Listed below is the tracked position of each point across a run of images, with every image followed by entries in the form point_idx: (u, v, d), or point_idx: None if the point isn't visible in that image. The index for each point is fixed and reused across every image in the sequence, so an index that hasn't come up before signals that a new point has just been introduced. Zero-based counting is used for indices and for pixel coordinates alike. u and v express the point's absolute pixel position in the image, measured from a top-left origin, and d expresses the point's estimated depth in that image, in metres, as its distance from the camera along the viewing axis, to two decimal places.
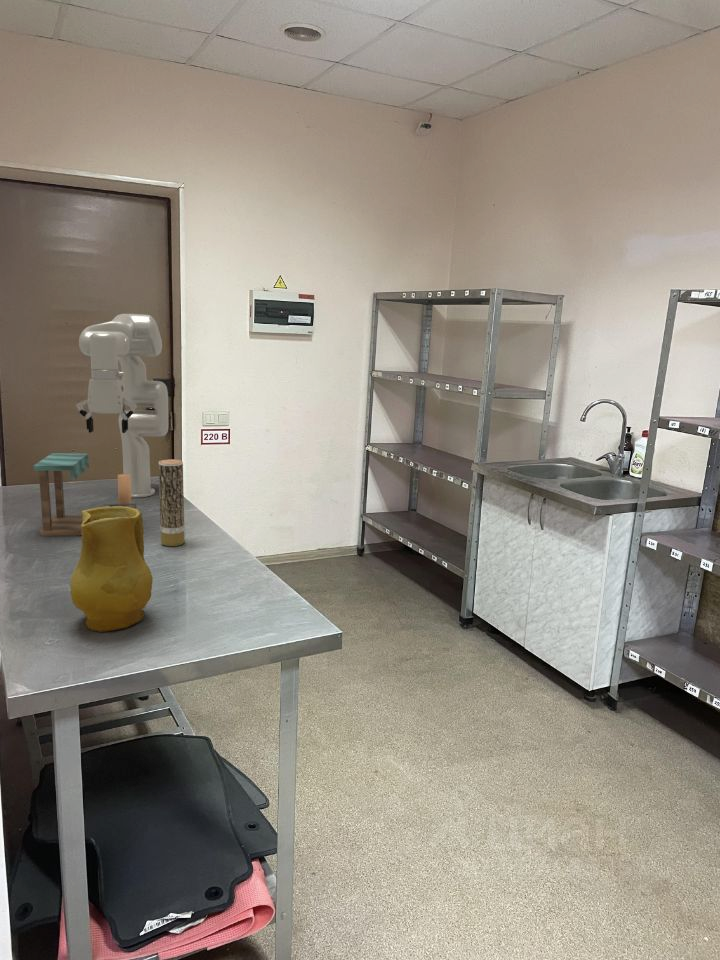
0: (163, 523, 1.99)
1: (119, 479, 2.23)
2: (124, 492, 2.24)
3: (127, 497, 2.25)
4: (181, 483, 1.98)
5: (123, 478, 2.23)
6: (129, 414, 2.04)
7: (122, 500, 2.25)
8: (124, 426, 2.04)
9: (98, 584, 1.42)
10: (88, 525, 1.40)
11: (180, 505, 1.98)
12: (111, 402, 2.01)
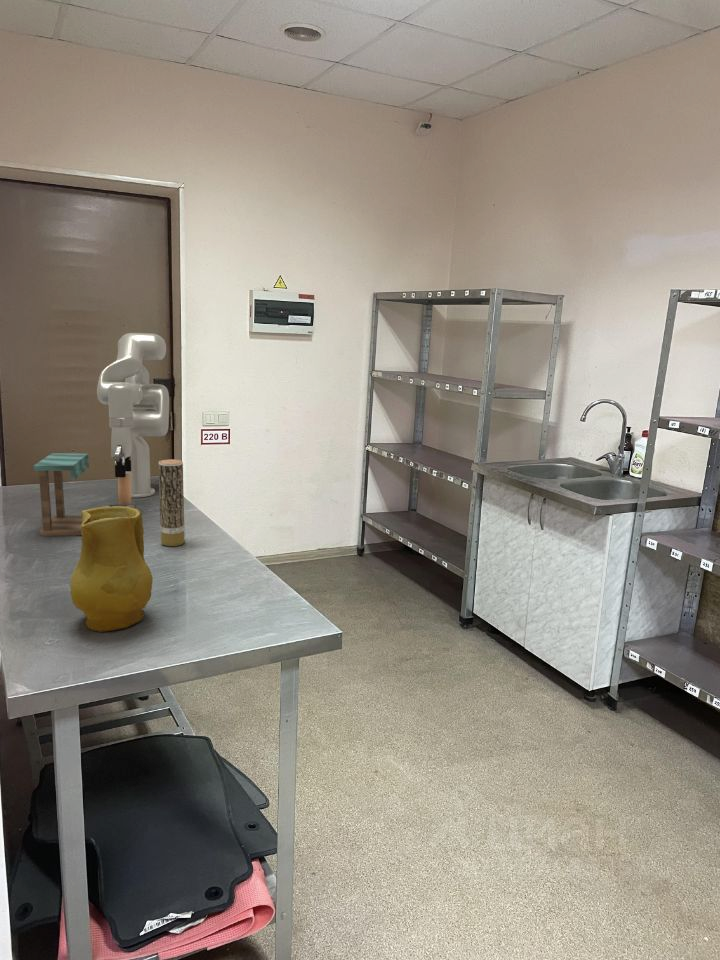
0: (163, 523, 1.99)
1: (119, 479, 2.23)
2: (124, 492, 2.24)
3: (127, 497, 2.25)
4: (181, 483, 1.98)
5: (123, 478, 2.23)
6: None
7: (122, 500, 2.25)
8: None
9: (98, 584, 1.42)
10: (88, 525, 1.40)
11: (180, 505, 1.98)
12: (131, 445, 2.24)
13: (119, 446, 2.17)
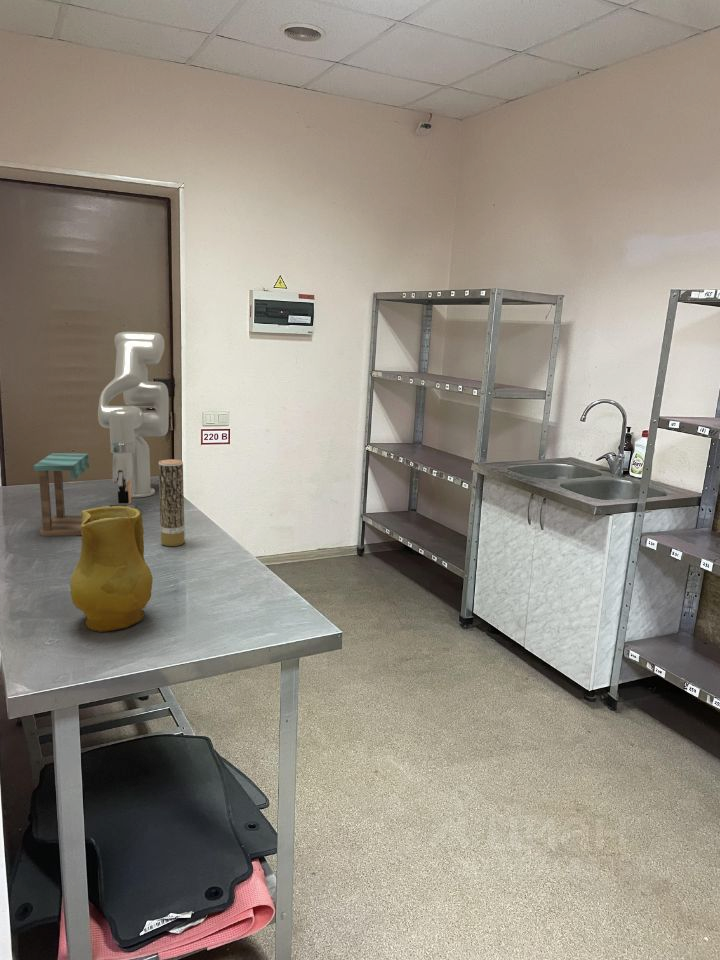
0: (163, 523, 1.99)
1: None
2: None
3: None
4: (181, 483, 1.98)
5: None
6: None
7: None
8: None
9: (98, 584, 1.42)
10: (88, 525, 1.40)
11: (180, 505, 1.98)
12: (132, 469, 2.27)
13: (121, 473, 2.20)
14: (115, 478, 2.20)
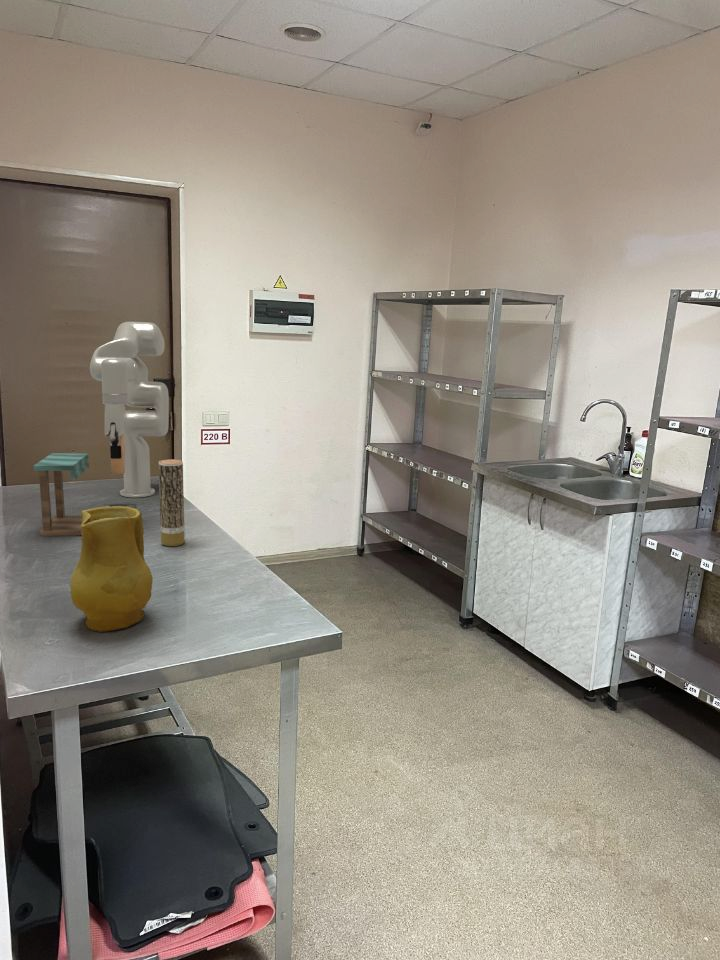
0: (163, 523, 1.99)
1: None
2: None
3: None
4: (181, 483, 1.98)
5: None
6: None
7: None
8: None
9: (98, 584, 1.42)
10: (88, 525, 1.40)
11: (180, 505, 1.98)
12: (125, 423, 2.15)
13: (113, 426, 2.08)
14: (107, 431, 2.08)
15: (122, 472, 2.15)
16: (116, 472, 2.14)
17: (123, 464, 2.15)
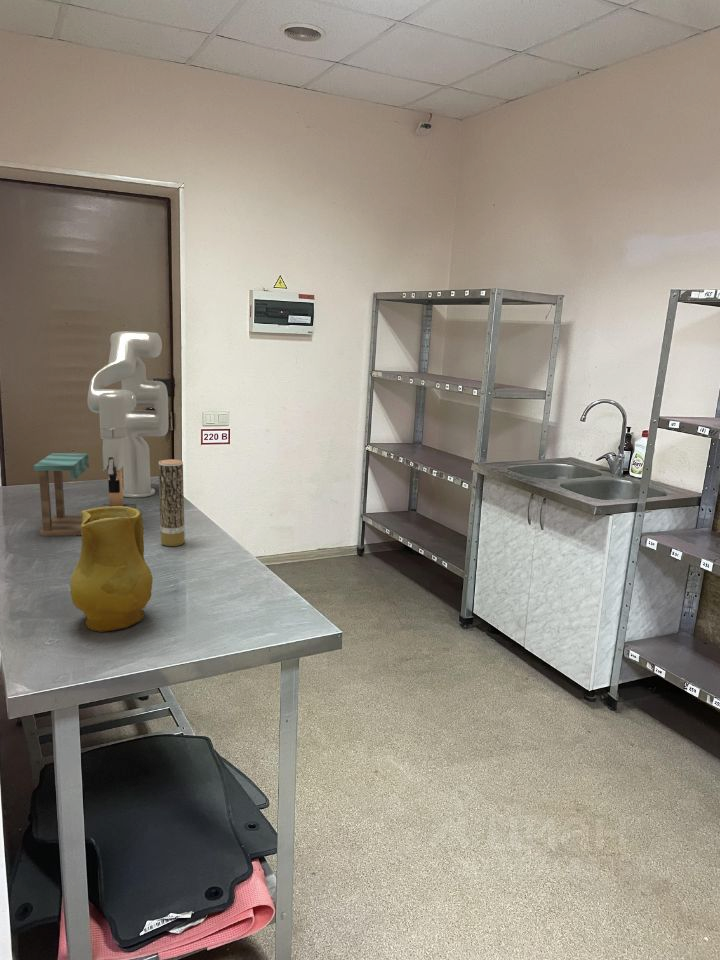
0: (163, 523, 1.99)
1: None
2: None
3: None
4: (181, 483, 1.98)
5: None
6: None
7: None
8: None
9: (98, 584, 1.42)
10: (88, 525, 1.40)
11: (180, 505, 1.98)
12: (123, 456, 2.13)
13: (111, 461, 2.06)
14: (105, 466, 2.06)
15: None
16: None
17: (121, 498, 2.13)
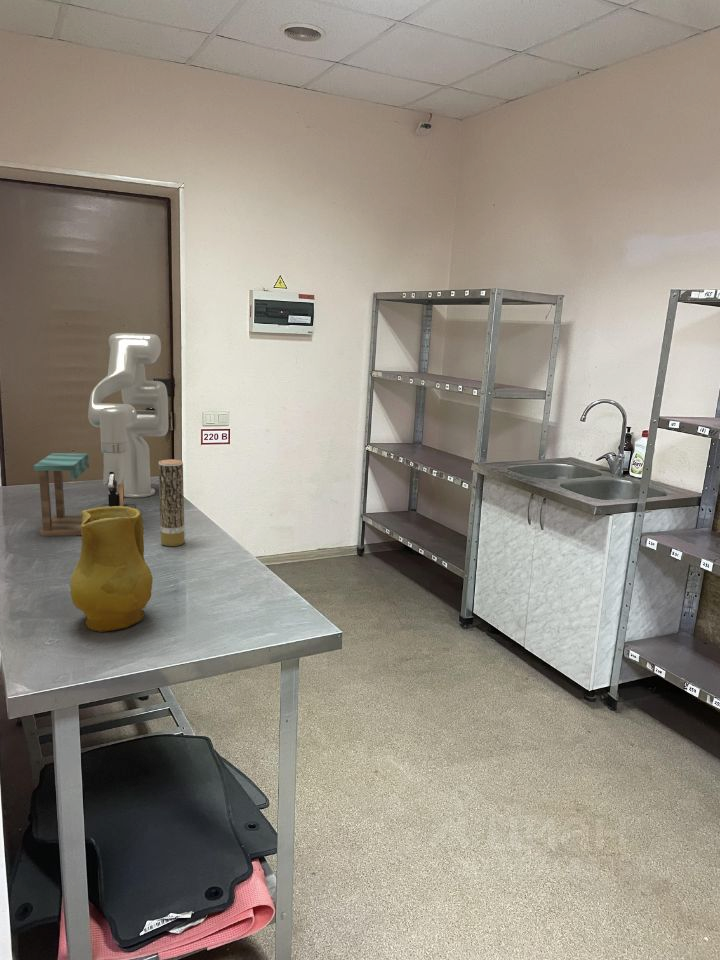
0: (163, 523, 1.99)
1: None
2: None
3: None
4: (181, 483, 1.98)
5: (115, 483, 2.10)
6: None
7: None
8: None
9: (98, 584, 1.42)
10: (88, 525, 1.40)
11: (180, 505, 1.98)
12: (124, 470, 2.14)
13: (112, 474, 2.06)
14: (106, 480, 2.07)
15: None
16: None
17: None
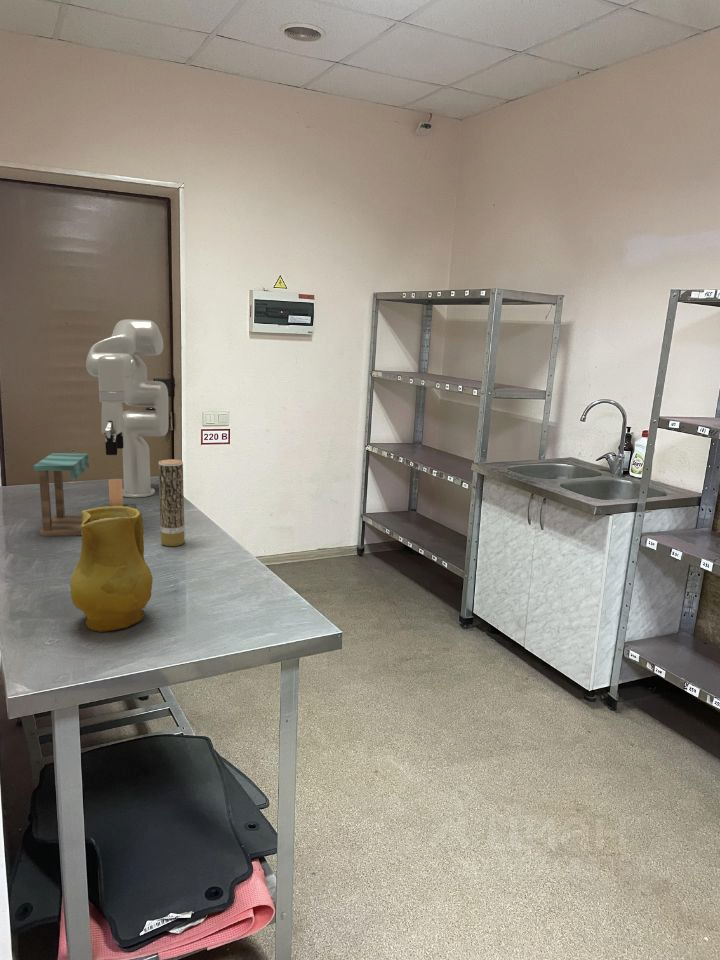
0: (163, 523, 1.99)
1: (110, 484, 2.11)
2: (115, 498, 2.11)
3: (119, 503, 2.12)
4: (181, 483, 1.98)
5: (114, 483, 2.10)
6: None
7: None
8: None
9: (98, 584, 1.42)
10: (88, 525, 1.40)
11: (180, 505, 1.98)
12: (122, 420, 2.11)
13: (110, 422, 2.04)
14: (104, 429, 2.04)
15: None
16: None
17: None
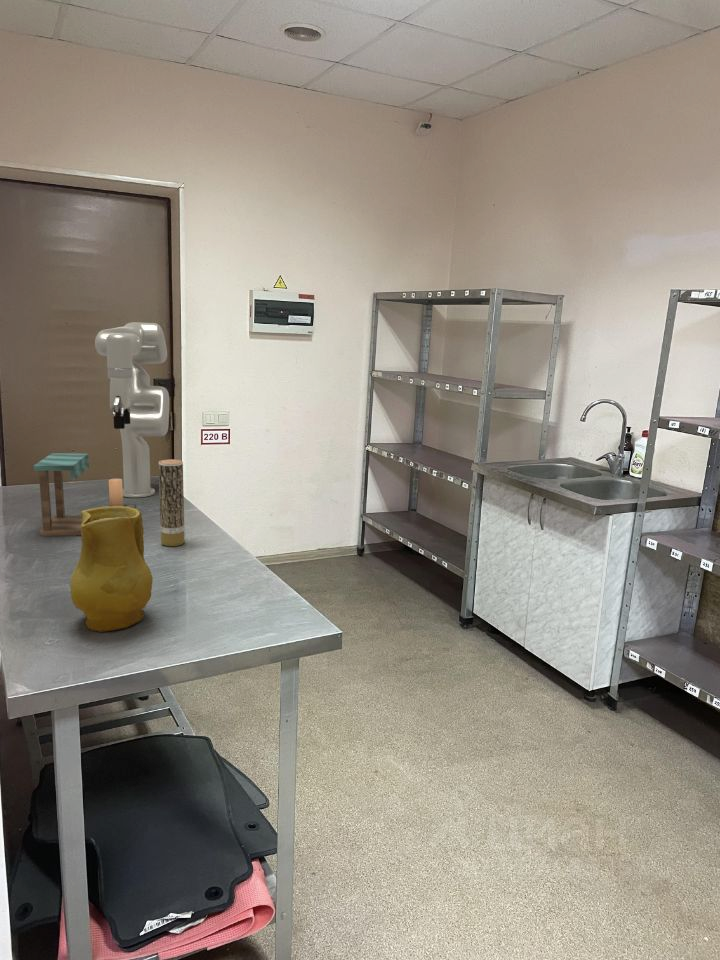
0: (163, 523, 1.99)
1: (110, 484, 2.11)
2: (115, 498, 2.12)
3: (119, 503, 2.12)
4: (181, 483, 1.98)
5: (114, 483, 2.10)
6: None
7: None
8: None
9: (98, 584, 1.42)
10: (88, 525, 1.40)
11: (180, 505, 1.98)
12: (129, 397, 2.22)
13: (118, 397, 2.15)
14: (112, 404, 2.15)
15: None
16: None
17: None
